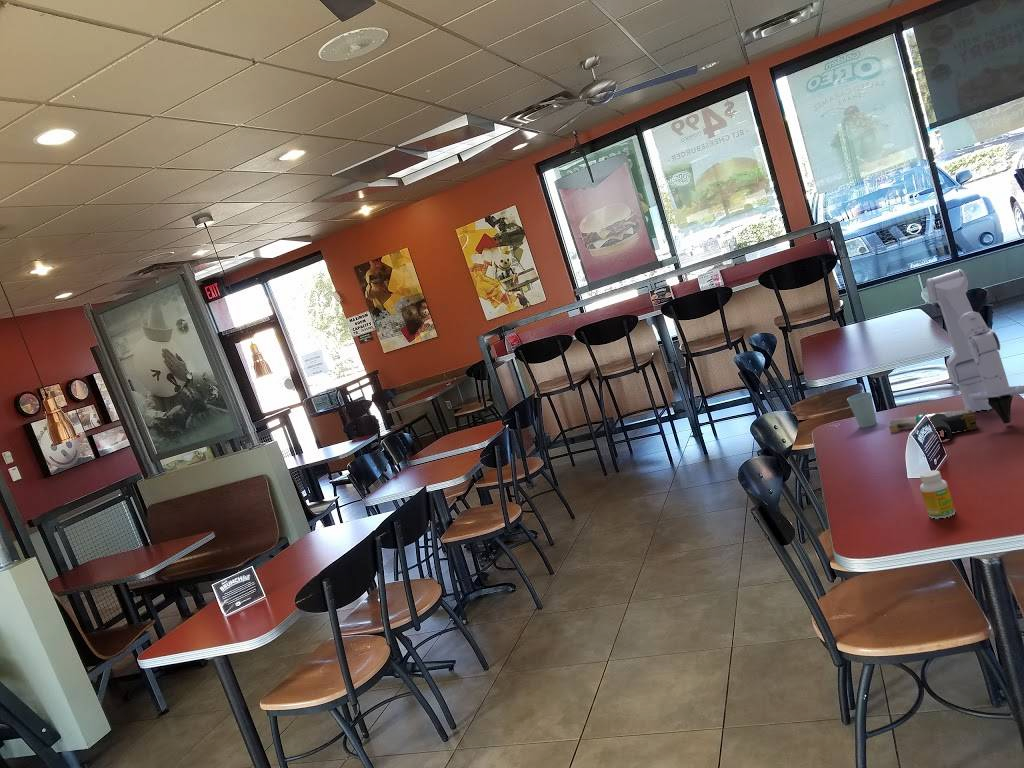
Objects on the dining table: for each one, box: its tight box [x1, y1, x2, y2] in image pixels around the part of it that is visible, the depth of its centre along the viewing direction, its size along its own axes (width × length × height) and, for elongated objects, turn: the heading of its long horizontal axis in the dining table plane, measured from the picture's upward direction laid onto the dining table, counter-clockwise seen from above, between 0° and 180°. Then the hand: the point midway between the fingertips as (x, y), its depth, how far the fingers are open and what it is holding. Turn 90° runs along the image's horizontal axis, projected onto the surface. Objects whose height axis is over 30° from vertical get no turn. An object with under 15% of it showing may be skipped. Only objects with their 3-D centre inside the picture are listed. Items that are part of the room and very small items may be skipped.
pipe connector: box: [930, 412, 979, 441], centre depth 221 cm, size 12×5×15 cm
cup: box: [846, 392, 877, 429], centre depth 260 cm, size 8×8×10 cm
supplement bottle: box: [919, 470, 957, 520], centre depth 169 cm, size 5×5×10 cm
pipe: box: [888, 408, 972, 434], centre depth 236 cm, size 22×5×4 cm, turn 47°
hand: (1007, 422), depth 212 cm, fingers closed
